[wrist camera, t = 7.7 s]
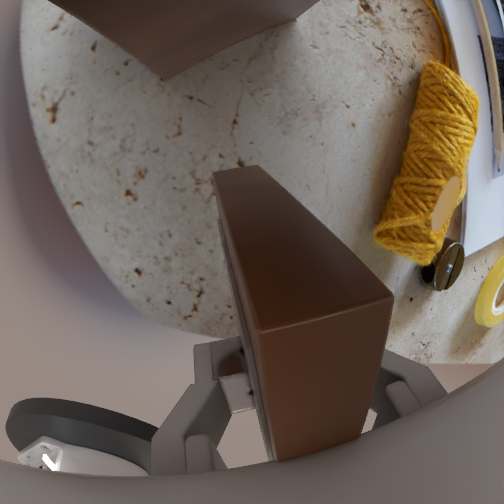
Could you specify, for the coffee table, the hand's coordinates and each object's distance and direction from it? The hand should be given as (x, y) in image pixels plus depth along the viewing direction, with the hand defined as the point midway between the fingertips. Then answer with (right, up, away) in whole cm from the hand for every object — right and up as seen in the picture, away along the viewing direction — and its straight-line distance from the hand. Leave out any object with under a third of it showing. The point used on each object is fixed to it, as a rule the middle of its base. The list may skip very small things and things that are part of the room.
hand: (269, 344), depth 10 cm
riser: (-4, +17, +2) cm, 18 cm away
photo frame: (-1, +1, +3) cm, 3 cm away
